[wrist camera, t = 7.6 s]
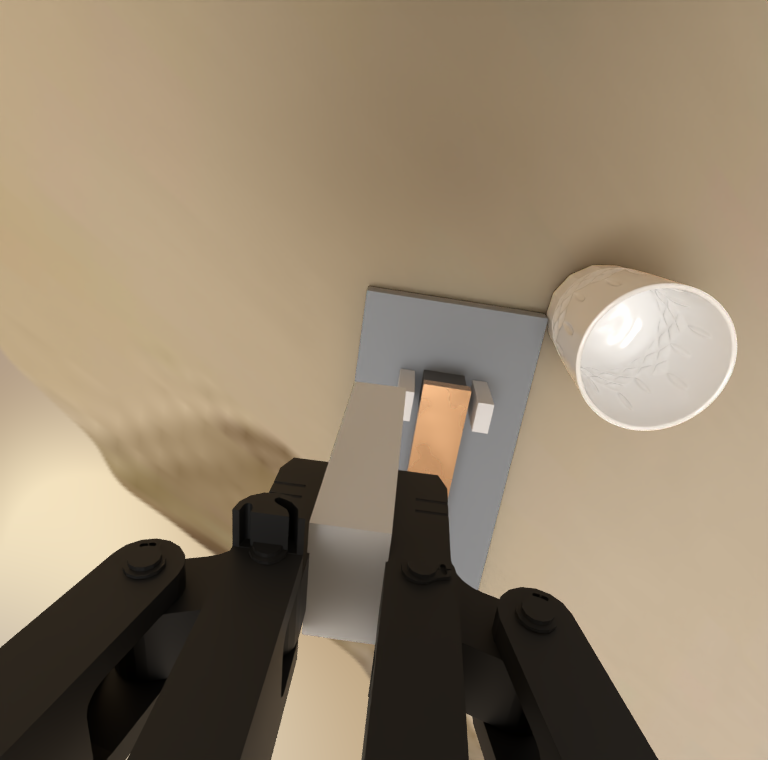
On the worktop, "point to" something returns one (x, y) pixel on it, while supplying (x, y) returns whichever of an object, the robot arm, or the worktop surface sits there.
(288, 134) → the worktop surface
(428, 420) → the strap
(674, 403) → the white cup
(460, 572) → the mount
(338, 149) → the worktop surface
